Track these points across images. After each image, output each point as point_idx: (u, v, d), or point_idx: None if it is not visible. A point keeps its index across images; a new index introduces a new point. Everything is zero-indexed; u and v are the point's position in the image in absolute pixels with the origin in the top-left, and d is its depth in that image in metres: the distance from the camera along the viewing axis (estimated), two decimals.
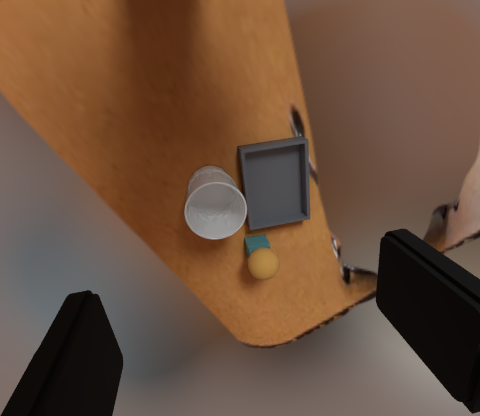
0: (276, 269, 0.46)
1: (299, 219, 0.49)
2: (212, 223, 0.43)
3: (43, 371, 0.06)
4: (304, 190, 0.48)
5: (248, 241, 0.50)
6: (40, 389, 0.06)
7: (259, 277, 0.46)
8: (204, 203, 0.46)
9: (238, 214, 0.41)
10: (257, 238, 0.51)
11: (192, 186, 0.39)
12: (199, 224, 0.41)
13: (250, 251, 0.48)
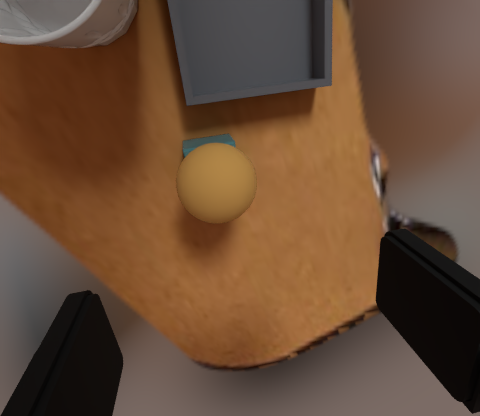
0: (247, 192, 0.17)
1: (306, 84, 0.20)
2: None
3: (43, 371, 0.06)
4: (319, 6, 0.19)
5: (187, 144, 0.22)
6: (40, 389, 0.06)
7: (202, 213, 0.17)
8: (57, 18, 0.17)
9: None
10: (210, 138, 0.23)
11: None
12: None
13: None
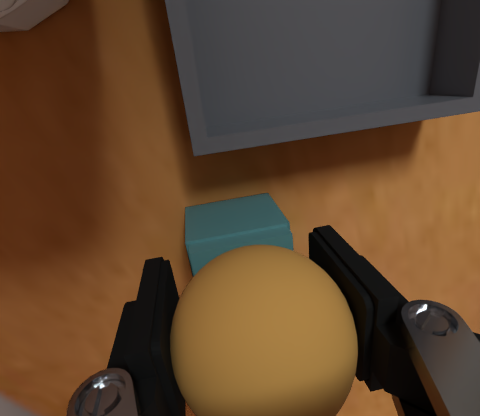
0: (347, 389, 0.07)
1: (436, 109, 0.10)
2: None
3: (148, 313, 0.07)
4: None
5: (194, 220, 0.11)
6: (151, 325, 0.07)
7: None
8: None
9: None
10: (236, 206, 0.12)
11: None
12: None
13: (197, 264, 0.10)
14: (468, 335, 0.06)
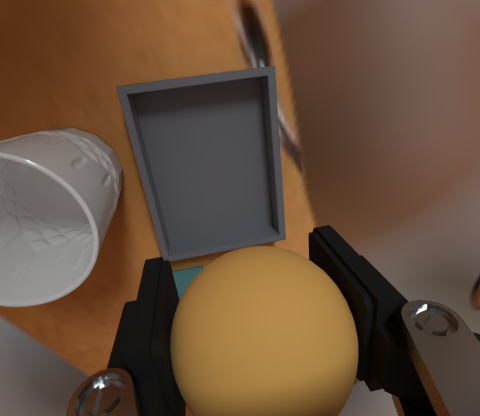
0: (348, 391, 0.07)
1: (264, 240, 0.25)
2: (50, 256, 0.18)
3: (148, 313, 0.07)
4: (273, 182, 0.24)
5: None
6: (151, 325, 0.07)
7: None
8: (56, 209, 0.21)
9: None
10: (186, 274, 0.27)
11: None
12: (0, 263, 0.17)
13: None
14: (468, 335, 0.06)
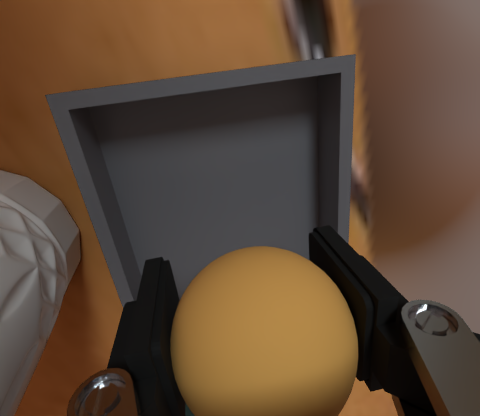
0: (348, 391, 0.07)
1: None
2: None
3: (148, 313, 0.07)
4: None
5: None
6: (151, 325, 0.07)
7: None
8: None
9: None
10: None
11: None
12: None
13: None
14: (468, 335, 0.06)
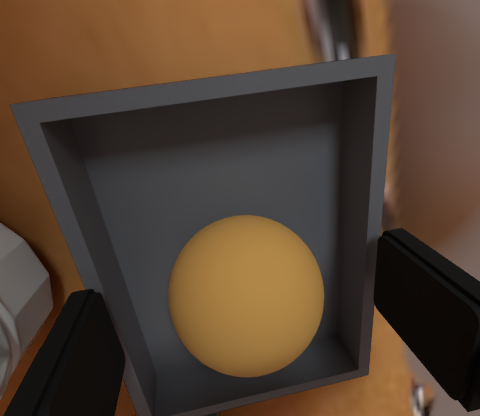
0: (313, 327, 0.08)
1: (330, 379, 0.13)
2: None
3: (47, 368, 0.06)
4: (352, 280, 0.12)
5: None
6: (44, 386, 0.06)
7: (221, 370, 0.08)
8: None
9: None
10: None
11: None
12: None
13: None
14: None
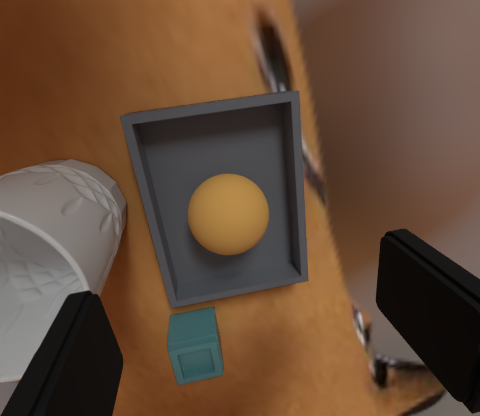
0: (259, 225, 0.17)
1: (284, 282, 0.22)
2: (40, 310, 0.16)
3: (43, 371, 0.06)
4: (294, 217, 0.21)
5: (173, 327, 0.23)
6: (40, 389, 0.06)
7: (214, 246, 0.17)
8: (52, 250, 0.19)
9: None
10: (195, 317, 0.24)
11: None
12: None
13: (172, 355, 0.21)
14: None
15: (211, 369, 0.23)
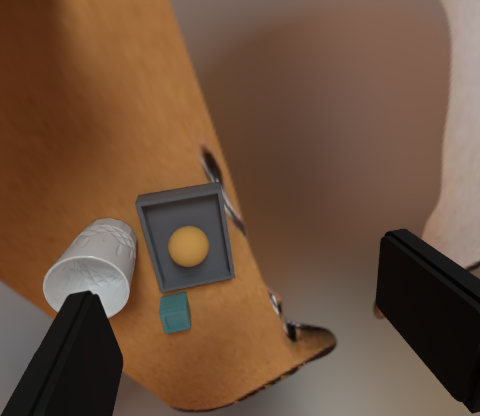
0: (201, 253, 0.36)
1: (221, 278, 0.41)
2: (100, 293, 0.34)
3: (43, 371, 0.06)
4: None
5: (162, 303, 0.42)
6: (40, 389, 0.06)
7: (180, 263, 0.36)
8: (100, 263, 0.38)
9: (127, 286, 0.33)
10: (175, 298, 0.43)
11: (60, 256, 0.30)
12: None
13: (162, 317, 0.40)
14: None
15: (184, 325, 0.42)
